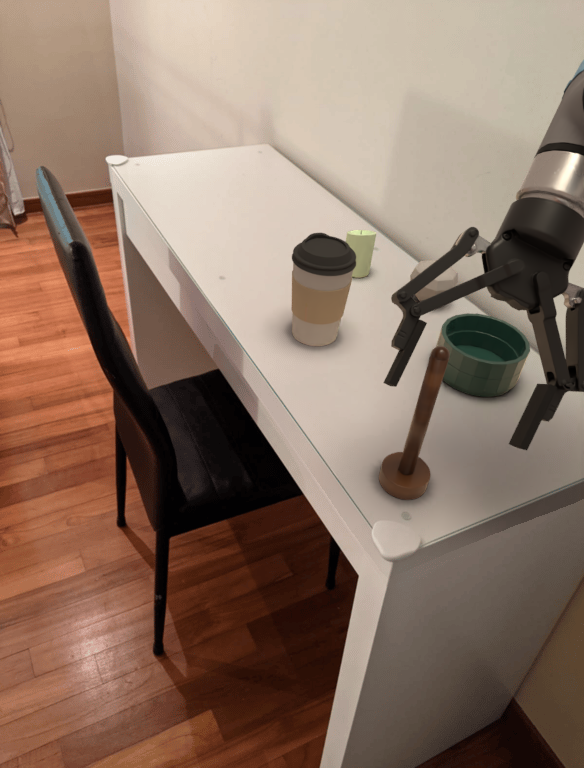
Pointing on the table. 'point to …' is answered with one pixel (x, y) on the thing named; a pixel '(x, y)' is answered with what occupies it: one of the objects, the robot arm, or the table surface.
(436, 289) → the beige faceted lump
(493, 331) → the bowl
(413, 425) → the paper towel holder
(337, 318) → the coffee cup
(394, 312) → the table surface
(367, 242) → the candle
